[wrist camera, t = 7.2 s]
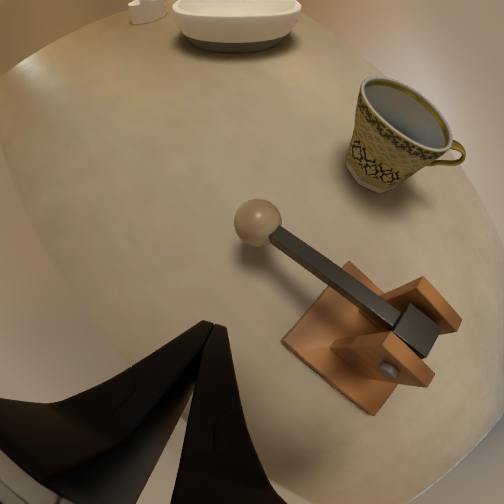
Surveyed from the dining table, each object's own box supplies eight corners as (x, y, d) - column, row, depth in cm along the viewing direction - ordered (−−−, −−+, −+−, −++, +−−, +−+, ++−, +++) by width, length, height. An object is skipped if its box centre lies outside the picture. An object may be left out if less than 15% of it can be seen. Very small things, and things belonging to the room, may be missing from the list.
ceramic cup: (323, 184, 27) (356, 114, 17) (338, 126, 30) (364, 64, 21) (425, 231, 26) (481, 186, 16) (425, 168, 29) (465, 120, 20)
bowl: (295, 23, 42) (300, -6, 34) (295, 67, 34) (304, 24, 27) (194, 18, 42) (192, -11, 34) (158, 61, 34) (150, 21, 26)
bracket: (280, 340, 21) (312, 335, 12) (344, 264, 24) (399, 216, 15) (368, 414, 19) (435, 439, 10) (420, 337, 22) (493, 323, 13)
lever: (229, 238, 21) (219, 211, 18) (259, 210, 22) (253, 182, 19) (402, 371, 14) (425, 365, 11) (426, 331, 15) (450, 317, 12)
